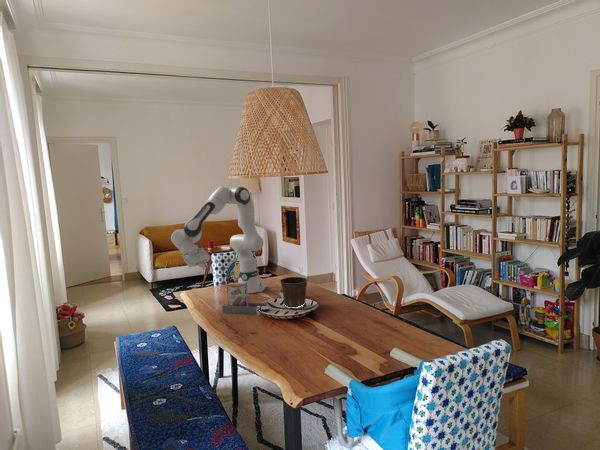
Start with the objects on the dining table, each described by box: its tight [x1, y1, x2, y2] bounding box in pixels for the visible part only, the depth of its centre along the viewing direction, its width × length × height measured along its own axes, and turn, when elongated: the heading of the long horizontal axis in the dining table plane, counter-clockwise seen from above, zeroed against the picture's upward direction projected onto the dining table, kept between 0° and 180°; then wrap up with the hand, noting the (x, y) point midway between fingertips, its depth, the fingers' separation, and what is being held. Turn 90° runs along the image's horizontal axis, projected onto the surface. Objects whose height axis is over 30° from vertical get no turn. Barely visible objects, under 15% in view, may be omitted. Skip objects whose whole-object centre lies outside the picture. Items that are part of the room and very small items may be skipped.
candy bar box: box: [226, 282, 249, 307], centre depth 261 cm, size 11×5×16 cm, turn 84°
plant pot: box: [279, 276, 309, 307], centre depth 264 cm, size 16×16×16 cm
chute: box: [221, 300, 269, 316], centre depth 260 cm, size 12×24×5 cm, turn 70°
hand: (206, 268), depth 269 cm, fingers closed
